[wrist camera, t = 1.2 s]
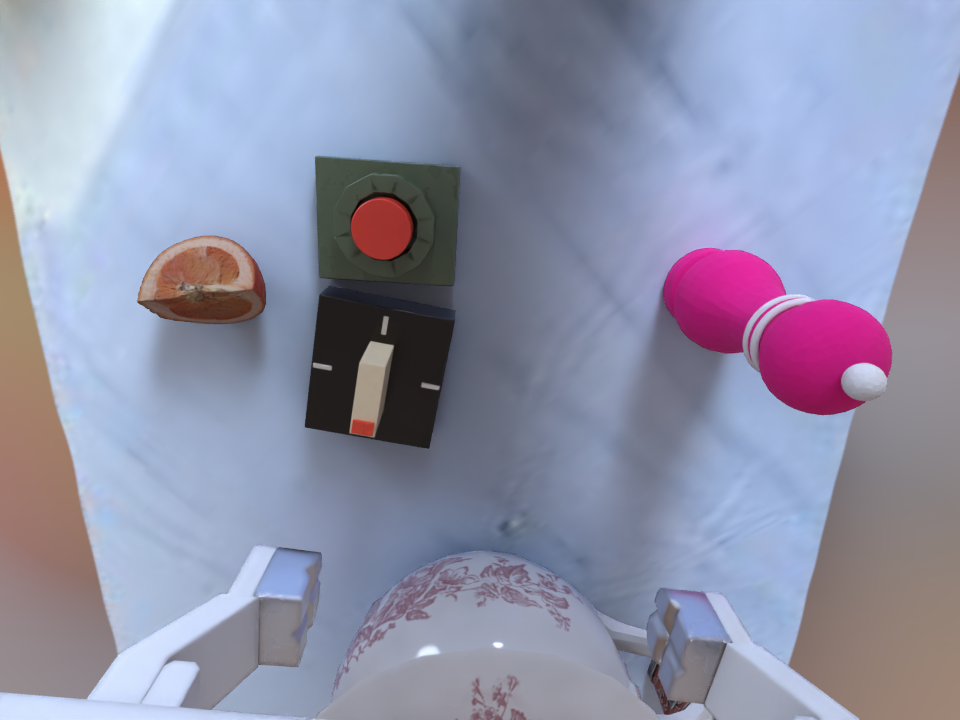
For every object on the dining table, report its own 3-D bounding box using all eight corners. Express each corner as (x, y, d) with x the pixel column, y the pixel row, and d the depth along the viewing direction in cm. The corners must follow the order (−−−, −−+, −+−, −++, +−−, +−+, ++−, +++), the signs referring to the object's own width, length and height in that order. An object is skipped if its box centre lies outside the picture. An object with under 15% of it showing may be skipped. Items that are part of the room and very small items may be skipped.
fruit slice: (182, 323, 44) (148, 344, 39) (156, 238, 42) (117, 248, 37) (287, 313, 44) (265, 332, 39) (267, 226, 42) (242, 236, 37)
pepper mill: (680, 347, 46) (828, 484, 27) (640, 274, 43) (771, 368, 25) (762, 300, 44) (977, 410, 26) (725, 222, 42) (931, 280, 23)
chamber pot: (306, 673, 57) (223, 941, 38) (393, 456, 49) (344, 658, 29) (552, 740, 62) (591, 1010, 42) (673, 550, 53) (793, 782, 33)
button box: (324, 273, 43) (312, 283, 40) (320, 156, 40) (307, 156, 37) (454, 281, 43) (453, 292, 40) (460, 166, 40) (459, 167, 37)
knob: (370, 340, 42) (358, 363, 37) (394, 345, 42) (385, 368, 37) (360, 406, 44) (348, 435, 39) (383, 410, 44) (373, 439, 39)
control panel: (328, 285, 43) (318, 295, 40) (455, 310, 44) (454, 321, 41) (314, 411, 47) (303, 428, 44) (431, 431, 48) (428, 450, 45)
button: (355, 253, 39) (350, 258, 38) (355, 194, 38) (350, 196, 36) (412, 257, 39) (410, 261, 38) (414, 198, 38) (411, 200, 36)
